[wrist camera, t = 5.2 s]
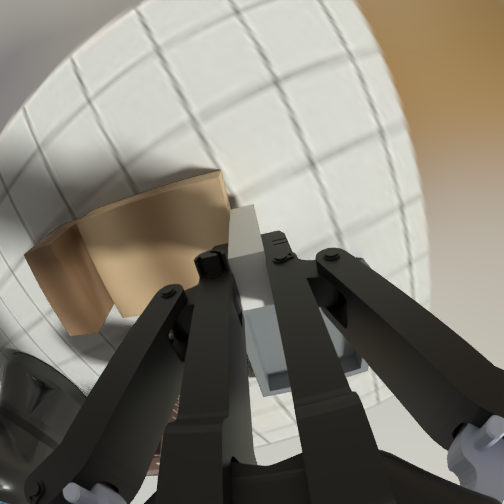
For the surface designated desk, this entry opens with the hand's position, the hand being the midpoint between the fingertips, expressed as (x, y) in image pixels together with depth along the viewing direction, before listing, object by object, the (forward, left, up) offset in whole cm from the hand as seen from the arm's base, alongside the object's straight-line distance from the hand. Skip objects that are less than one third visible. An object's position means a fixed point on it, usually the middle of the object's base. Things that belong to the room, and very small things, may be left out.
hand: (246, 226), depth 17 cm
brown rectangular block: (-13, 0, -1) cm, 13 cm away
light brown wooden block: (-6, 0, -2) cm, 6 cm away
